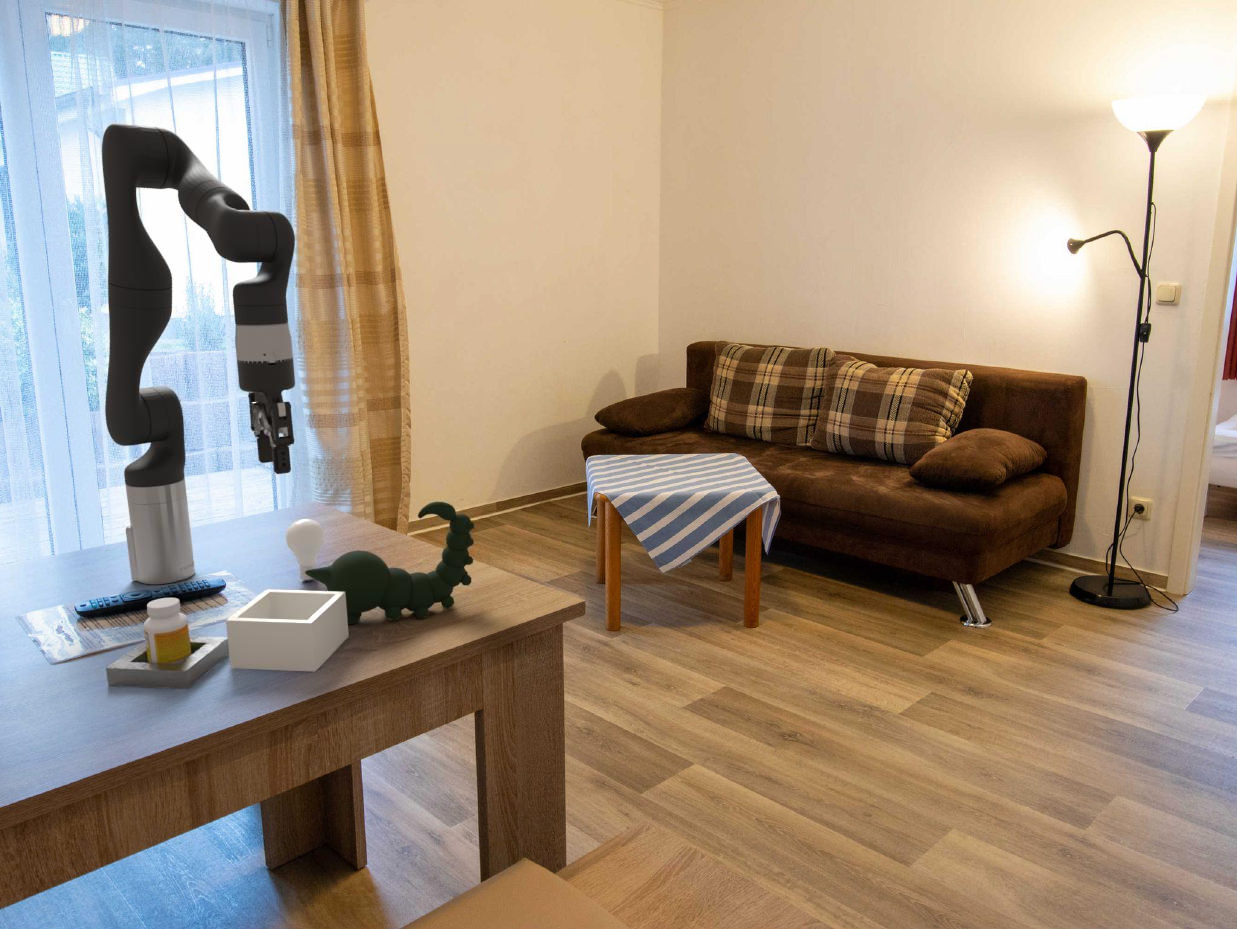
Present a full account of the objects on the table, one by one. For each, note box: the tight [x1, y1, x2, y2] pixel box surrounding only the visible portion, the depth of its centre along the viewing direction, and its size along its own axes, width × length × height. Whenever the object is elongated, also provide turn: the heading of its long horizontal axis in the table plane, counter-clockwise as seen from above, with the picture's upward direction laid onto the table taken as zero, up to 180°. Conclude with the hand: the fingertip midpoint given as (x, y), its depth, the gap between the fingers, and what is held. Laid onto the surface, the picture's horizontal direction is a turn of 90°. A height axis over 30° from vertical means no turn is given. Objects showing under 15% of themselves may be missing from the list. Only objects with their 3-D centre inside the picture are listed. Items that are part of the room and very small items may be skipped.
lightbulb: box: [285, 518, 326, 582], centre depth 163 cm, size 6×6×11 cm
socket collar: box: [105, 635, 230, 690], centre depth 129 cm, size 11×11×2 cm
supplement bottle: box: [143, 597, 191, 664], centre depth 129 cm, size 5×5×10 cm
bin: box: [225, 588, 349, 673], centre depth 134 cm, size 12×12×7 cm
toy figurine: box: [305, 501, 475, 625], centre depth 146 cm, size 9×19×25 cm
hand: (274, 467), depth 138 cm, fingers open, 8 cm apart
